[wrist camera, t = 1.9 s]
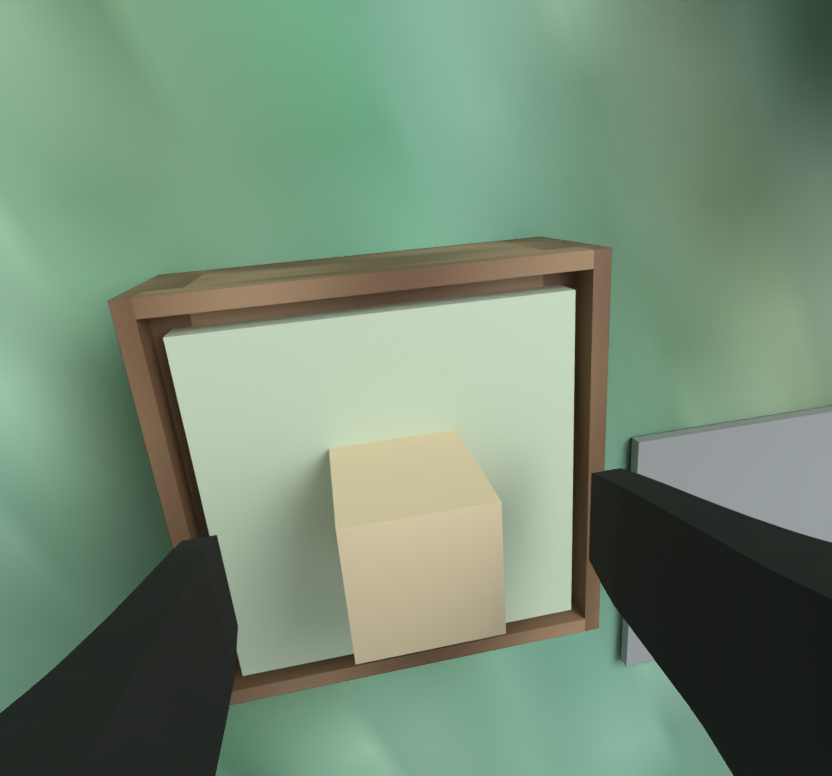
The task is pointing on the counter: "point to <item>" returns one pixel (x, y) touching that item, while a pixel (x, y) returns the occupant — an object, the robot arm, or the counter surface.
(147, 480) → the counter surface
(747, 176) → the counter surface
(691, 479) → the rubber mat
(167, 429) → the walnut box
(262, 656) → the lid
